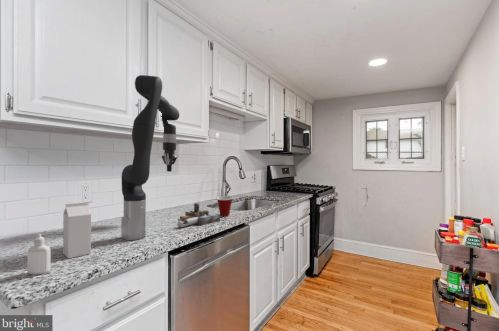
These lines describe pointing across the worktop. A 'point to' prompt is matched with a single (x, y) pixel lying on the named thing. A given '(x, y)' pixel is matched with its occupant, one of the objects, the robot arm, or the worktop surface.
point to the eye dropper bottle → (38, 257)
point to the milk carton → (76, 230)
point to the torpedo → (187, 222)
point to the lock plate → (202, 217)
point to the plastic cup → (224, 205)
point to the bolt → (197, 209)
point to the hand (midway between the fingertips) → (169, 171)
